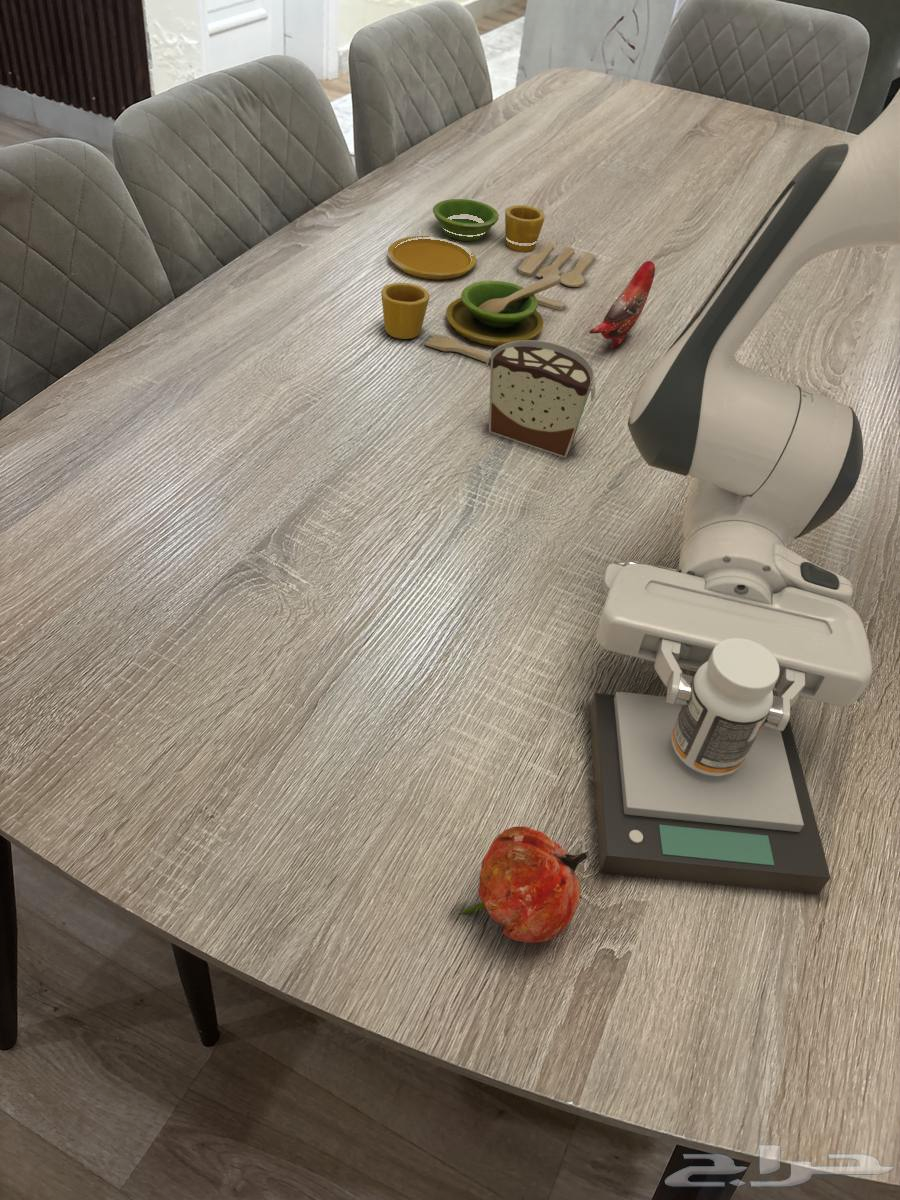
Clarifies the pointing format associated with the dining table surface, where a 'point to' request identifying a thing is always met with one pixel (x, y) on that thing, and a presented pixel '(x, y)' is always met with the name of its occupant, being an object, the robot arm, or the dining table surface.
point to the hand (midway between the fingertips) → (727, 711)
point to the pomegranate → (529, 885)
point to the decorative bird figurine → (627, 306)
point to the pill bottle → (726, 707)
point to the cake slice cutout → (538, 393)
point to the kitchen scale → (699, 805)
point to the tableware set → (484, 305)
